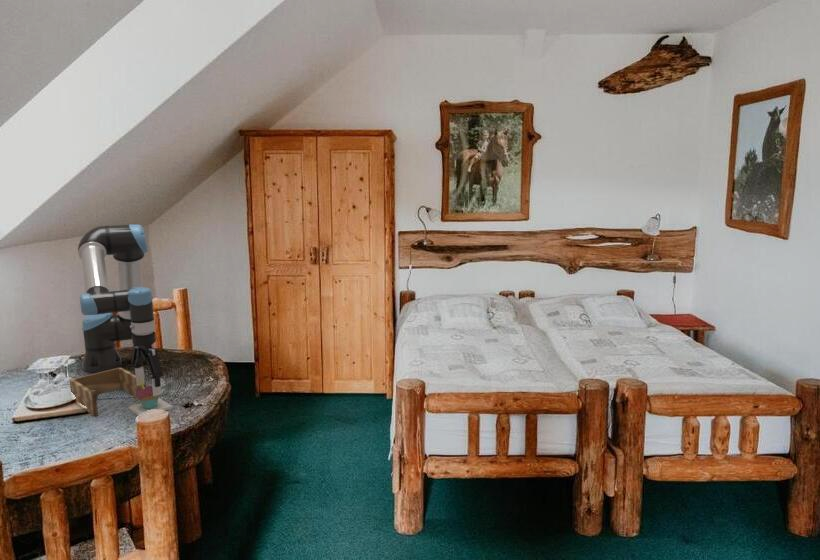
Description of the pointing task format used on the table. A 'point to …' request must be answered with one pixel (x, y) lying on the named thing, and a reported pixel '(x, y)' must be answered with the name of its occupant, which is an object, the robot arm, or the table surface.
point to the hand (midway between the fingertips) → (148, 389)
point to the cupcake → (146, 396)
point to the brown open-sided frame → (102, 386)
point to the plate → (139, 408)
